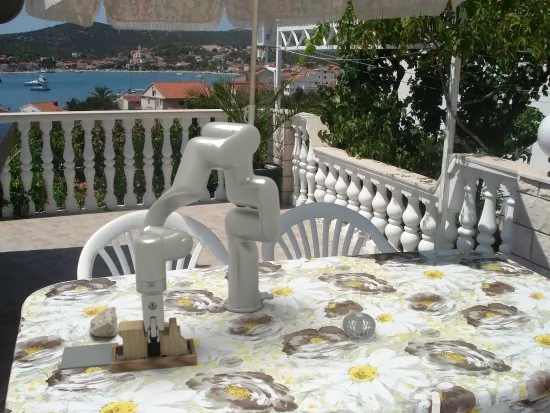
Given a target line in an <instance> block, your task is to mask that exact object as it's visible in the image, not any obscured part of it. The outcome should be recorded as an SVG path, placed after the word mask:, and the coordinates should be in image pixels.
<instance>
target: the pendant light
mask: <svg viewBox="0 0 550 413" xmlns="http://www.w3.org/2000/svg"><path fill="white" fill-rule="evenodd" d="M356 236H357V237H358V238H360V239H367V238H370V236H371V234H369V232H367V231H358V233H356ZM361 246H362V247H361V250H362V251H361V254H363V251H364V250H363V248H364V244H362V245H361ZM360 269H361V272H360V277H362V271H363V266H361V268H360ZM361 290H362V288H360V294H359V297H360V298H359V299H361V297H362V296H361V294H362V291H361ZM376 326H377V325H376V321H375V320H374V318H373V317H372V316H371V315H370V314H368V313H365V312H361V311H359V312H351V313H348V314H347V315H346V316H345V317H344V318H343V320H342V330H343V332H344V333H345V334H346V335H347V336H348V337H350V338H352V339H361V340H363V339H364V340H365V339H369V338H371V336H373V334H374V333H375V331H376ZM365 328H366V329H365ZM357 334H359V335H357ZM361 334H362V335H361Z"/></svg>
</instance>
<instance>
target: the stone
mask: <svg viewBox="0 0 550 413" xmlns="http://www.w3.org/2000/svg"><path fill="white" fill-rule="evenodd" d="M116 311H117V309H116V307H115V306H111V307H107V308H105V309H103V310H101V311H100V312H98V314H97V315H96V316H94V317H93V318H91V320H90V323H89V325H90V327H89V331H88V332H89V333H91V334H92V335H93V336H96V337H99V338H100V337H101V338H102V337H104V338H105V337H108V338H113V337H115V336H117V335H118V329H119V328H118V317H117V313H116Z"/></svg>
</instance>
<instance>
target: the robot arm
mask: <svg viewBox="0 0 550 413" xmlns="http://www.w3.org/2000/svg"><path fill="white" fill-rule="evenodd" d="M201 130H202V132H201V134H202V136H195V137H193V138H190V139H189V141H188V142H187V143H186V145H185V149H184V151H183V155H182V156H181V160H180V163H179V166H178V169H177V172H176V174H175V177H174V180H173V184H172V185H171V187H170V188H169V189H168V190H167V191H165V192H164V193H163V194H162V195H161V196H160V197H158V198H157V200H156V201H155V202H154V203H153V204H152V205H151V206H150V207H149V209H148V210H147V213H146V215H145V217H144V220H143V223H142V226H141V229H140V232H139V236H137V237H136V239H135V240H134V243H133V246H134V266H135V267H134V268H135V289H136V290H135V292H136V293H138V294H141V295H140V296H141V310H142V320H143V321H144V327H145V331H146V332H148V342H147V353H148V357H157V356H160V355H161V352H160V341H159V330H162V331H163V330H164V327H165V312H164V311H165V308H164V306H165V304H164V292H166V290H167V287H168V286H167V262H171V261H178V260H181V259H185V258H186V257H188V255H190V253H191V252H192V250H193V248H194V240H193V237H192V236H191V235H190V233H188V232H187V231H184V230H181V229H176V228H172V227H168V226H167V227H166V226H165V223H166V221H167V219H168V218H169V217H170V216H171V215H172V213H174V212H175V211H177V210H178V209H180V208H182V207H184V206H188V205H190V204H193V203H196V202H198V201H200V200H201V199H202V198H204V196H205V195H204V194H205V193H206V192H205V191H206V188H207V185H208V183H209V180H210V175H211V173H212V171H213V170H218V171H223V174H224V175H223V176H224V184H225V191H226V198H227V201H229V203H231V204H233V205H237V206H238V207H237V206H236V207H233V208H231V209H229V210H228V211H227V213H226V214H225V217H224V230H225V235H226V241H227V261H228V262H227V264H228V265H227V266H228V267H227V276H228V277H227V283H228V285H227V287H228V291H227V292H228V294H227V295H228V296H227V298H225V299H224V301H223V307H224V308H225V310H227V311H230V312H233V313H239V314H241V313H242V314H246V313H254V312H256V311H257V312H258V311H259V310H261V309H262V308H263V307H264V301H265V300H268V301H269V300H275V298H274V296H275V294H274V293H273V292H272V293H269V291H260V289H259V287H260V286H259V282H260V278H259V277H260V276H259V275H260V253H259V248H258V245H257V243H256V242H259V243H266V244H267V243H268V244H271V243H273V242H275V241H276V240H277V239H279V237H280V234H281V228H282V227H281V226H282V224H281V207H280V206H281V205H280V196H279V195H280V193H279V189H278V186H277V183H276V182H275V181H274V179H272V178H271V177H268V176H264V175H263V176H262V175H256V174H255V173H254V170H253V162H252V155H254V154H255V153H256V151H257V150H258V149H259V146H260V145H261V134H260V131H259V129H258V128H257V127H256V126H254V125H253V124H250V123H240V122H239V123H236V122H226V121H211V122H208V123H206V124H205V125H204V126H203V128H202V129H201ZM156 327H157V330H156ZM149 328H151V330H149ZM156 332H157V335H156ZM150 333H151V335H150Z"/></svg>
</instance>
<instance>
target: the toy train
mask: <svg viewBox="0 0 550 413" xmlns="http://www.w3.org/2000/svg"><path fill="white" fill-rule="evenodd" d="M117 329H118V330H117V335H118V336H119V337H120V338H121V339H122V344H123V357H124V358H125V359H126V361H129V360H139V359H150V358H161V357H163V356H166V357H172V356H181V355H186V354H188V352H189V351H188V349H187V342H186V339H187V338H185V337H184V336H183V335H182V331H181V325H178V324H177V317H170V318H169V319H168V326H164V330H163V331H162V330H159V341H160V352H161V355H160V356H157V357H148V353H147V342H148V332H146V331H145V327H144V321H143V319H139V320H138V319H136V320H125V321H124V320H122V321H120V322H119V324H118V328H117ZM149 330H151V328H149ZM156 330H157V327H156ZM150 335H151V333H150ZM156 335H157V332H156Z"/></svg>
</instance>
